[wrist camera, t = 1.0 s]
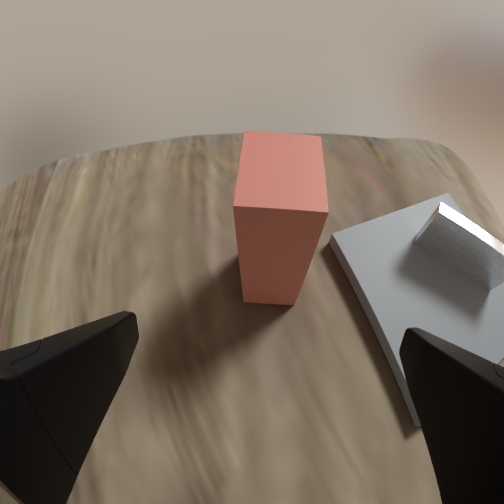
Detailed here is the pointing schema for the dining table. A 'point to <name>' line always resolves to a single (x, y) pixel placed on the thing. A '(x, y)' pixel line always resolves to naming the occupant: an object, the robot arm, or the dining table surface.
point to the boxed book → (278, 213)
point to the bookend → (463, 246)
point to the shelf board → (417, 289)
